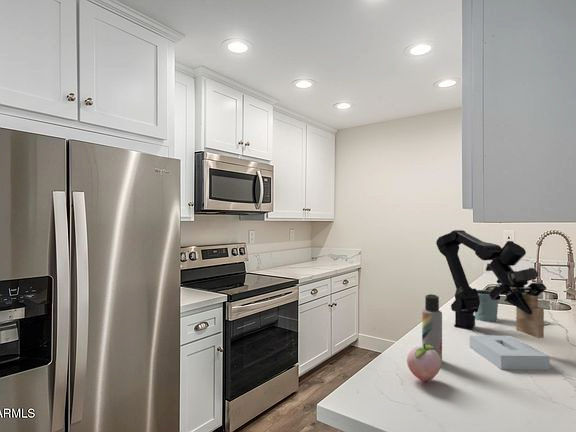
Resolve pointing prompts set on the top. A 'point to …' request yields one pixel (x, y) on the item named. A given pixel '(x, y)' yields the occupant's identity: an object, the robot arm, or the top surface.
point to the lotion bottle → (432, 324)
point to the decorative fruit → (424, 362)
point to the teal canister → (486, 307)
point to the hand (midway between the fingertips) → (533, 313)
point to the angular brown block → (531, 318)
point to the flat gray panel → (509, 353)
